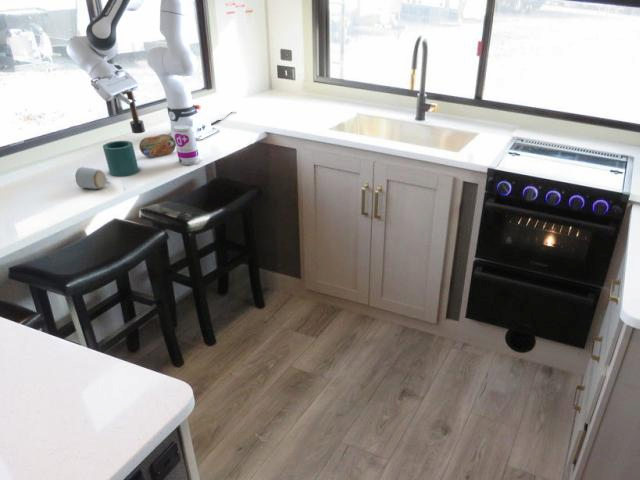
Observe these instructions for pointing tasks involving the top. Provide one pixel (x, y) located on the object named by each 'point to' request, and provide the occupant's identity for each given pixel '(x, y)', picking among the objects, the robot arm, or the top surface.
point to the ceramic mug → (90, 178)
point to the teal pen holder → (120, 158)
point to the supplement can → (186, 144)
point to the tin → (157, 145)
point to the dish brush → (135, 116)
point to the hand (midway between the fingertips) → (133, 102)
